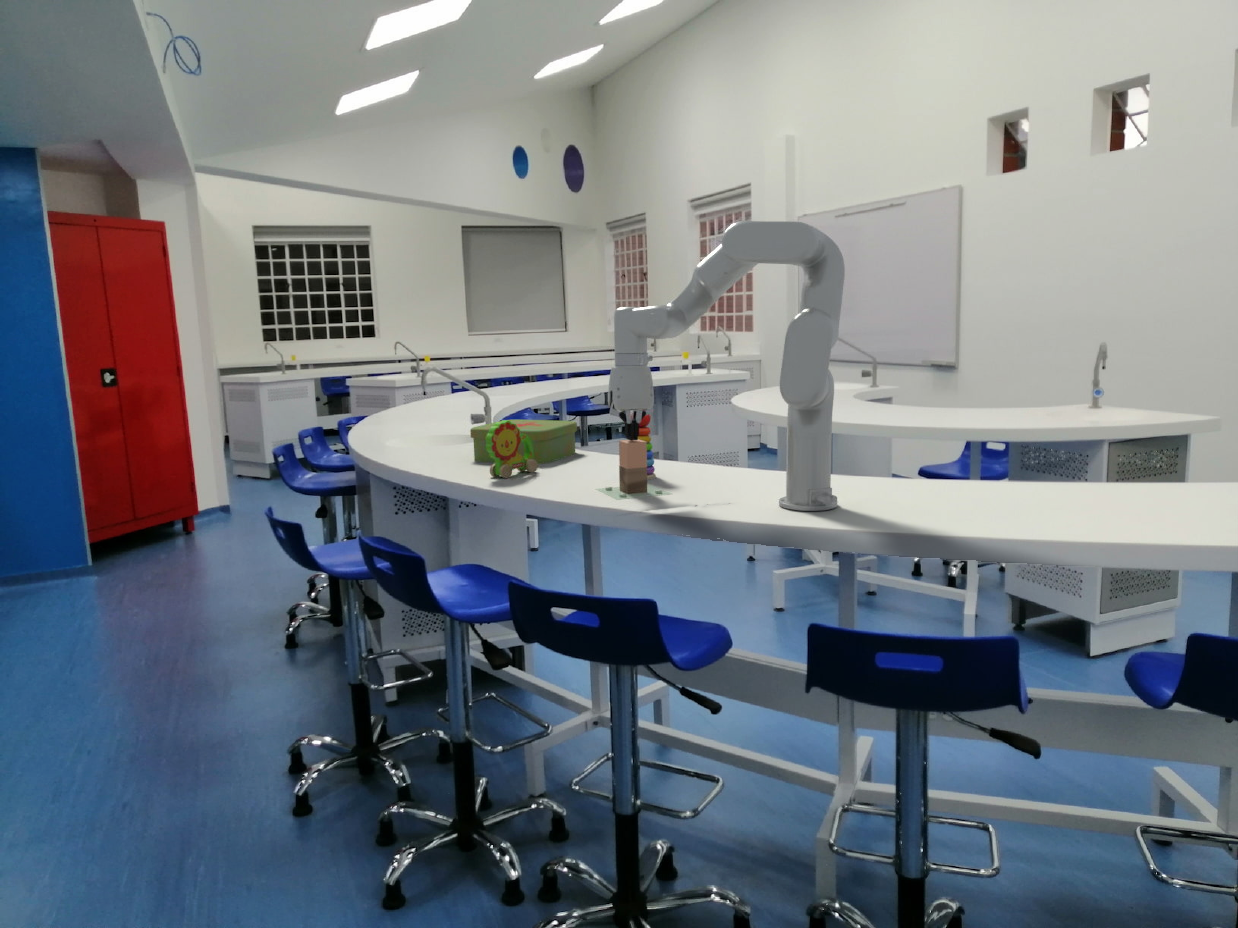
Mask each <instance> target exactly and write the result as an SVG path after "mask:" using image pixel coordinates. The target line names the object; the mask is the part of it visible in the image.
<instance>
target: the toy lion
mask: <svg viewBox="0 0 1238 928" xmlns="http://www.w3.org/2000/svg"><path fill="white" fill-rule="evenodd" d="M507 420H508V419H505V420H504V419H503V420H500V421H501V422H499V421H496V423H495V422H494V423H495V424H494V426H493V427H491V428H490V429H489V433H488V434H487V435H486V450H487V451H488V452H489V456H490V457H491V458H494V459H495V462H494V463H493V464H492V465H490V467H489V473H490V476H491V477H493V478H499V477H500V476H501V478H503V479H509V478H510V477H511V476H512V474H513V471H514V470H517V471H518V472H525V471H526V472H528V473H532V474H533V473H536V472H537V469H538V465H539V464H537V461H536V460H534V459H533V458H534V451H533V444H532V442H531V440H530V438H529V437H528V436H526V435H524V434H521V432H520V429H519V428H517V425H516V424H515V423H511V422H510V421H507ZM521 442H523V444H524V447H525V454H524V457H523V456H522V455H520V454H518V446H519V444H520V443H521Z"/></svg>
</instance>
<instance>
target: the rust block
mask: <svg viewBox="0 0 1238 928" xmlns="http://www.w3.org/2000/svg"><path fill="white" fill-rule="evenodd" d="M618 447H619V448H618V449H619V450H618V452H619V453H618V455H619V457H618V458H619V459H618V461H619V466H621V467H624V468H626V469H632V468H644V467H647V442H646V441H642V440H639V439H638V440H633V441H631V440H628V439H623V440H618Z"/></svg>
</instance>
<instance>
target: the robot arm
mask: <svg viewBox="0 0 1238 928" xmlns="http://www.w3.org/2000/svg"><path fill="white" fill-rule="evenodd" d="M720 242H721V243H720V244H719V245H718V246H717V247H716V248H714V250H712V251H711V252H710V253H708V255H707V256H706V257H704V258H703V259H702V260H701V261H700V262H698V264H697V265H696V266H695V267H694V270H693V273H692V276H691V280H690V281H689V283H688V284H687V286H686V287H684V289H683V290H682V291H681V292H680V293H679V294H678V295H677V296H676V297H674V299H672V300H671V301H670V302H669V303H667V304H662V305H661V304H659V305H658V304H657V305H651V306H645V307H641V306H621V307H618V308H616V309H615V310H614V312H613V313H614V314H613V326H614V327H613V329H614V330H613V331H614V334H613V335H614V367H611V368H610V374H609V381H608V390H607V391H608V394H607V405H608V408H609V415H610V416H613V417H619V418H620V419H621V420H622V423H624V436H625V438H626V440H631V441H633V440H638V436H639V423H640V422H641V420H642V419H643V417H644V416H645V415H648V414H650V415H651V414H654V411H655V409H654V403H655V395H654V394H655V392H654V381H653V375H652V371H651V367H650V366H648V365H649V362H652V361H653V358H654V357H653V355H652V354H651V355H650V354H649V353H648V339H652V340H664V339H673V338H677V337H678V336H680V335H682V334H683V333H684V332H685V331H687V330H688V329H689V328H690V327H691V326H692V325H694V324H695V323H696V322H697V321H699V319H701V318H702V317H703V316H704V315H705V314H706V313H707V312H708V311H709V310H710V309H711V308H712V307H713V306H714V304H715V303H716V302H718V301H719V299H720V298H721V297H722V296H723V295H724V294H725V293H726V292H727V291H728V290H730V288H732V287H733V286H734V285H735V284H736V283H738V281H740V280H741V279H742V278H744V276H745V275H746V274H748V273H749V272H750V271H751V270H753V269H754V268H755V267H757V265H758V264H767V265H768V264H769V265H770V264H772V265H774V264H775V265H791V266H792V265H793V266H797V267H801V268H802V271H803V272H804V274H803V276H804V277H803V278H804V279H803V283H802V288H801V296H800V297H801V298H800V299H801V300H800V304H799V311H798V314H796V315H795V316H794V317H793V318H792V319H791V321H790V322H789V324H788V327H787V329H786V333H785V336H784V337H785V338H784V344H783V346H784V347H783V350H782V351H783V354H782V359H781V360H782V362H781V368H780V376H779V392H780V395H781V397H782V399H783V400H784V402H785V403H786V404H787V405H788V408H787V420H786V421H787V422H786V473H785V475H786V481H785V483H786V484H785V486H786V487H785V488H786V490H785V492H786V493H785V496H783V497H781V498H780V499H778V506H779V507H781V508H784V509H788V510H792V511H793V510H794V511H800V512H801V511H802V512H803V511H804V512H818V511H819V512H820V511H827V510H828V511H829V510H833V509H836V508H837V507H838V496H836V495H834V494H833V487H831V482H832V481H831V480H832V479H831V475H832V474H831V473H832V472H831V471H832V436H833V434H832V432H833V409H834V408H833V407H834V400H835V399H834V396H835V382H834V377H833V374H832V372H831V370H830V369H829V367H830V359H831V353H832V349H833V348H834V347H835V346H836V344H837V342H838V338H839V334H840V333H839V331H840V330H839V328H840V319H841V311H842V305H843V304H842V303H843V294H844V286H845V285H844V284H845V277H846V276H845V275H846V273H845V271H846V266H845V261H844V257H843V253H842V251H841V249H840V248H839V245H837V244H836V242H835V241H834V240H833V239H832V237H830V236H828V235H827V234H826V233H824V232H823V231H821V230H819V229H818V228H817V227H814V226H812V225H810V224H808V223H805V222H802V221H791V220H790V221H783V220H782V221H778V220H777V221H775V220H774V221H769V220H768V221H762V220H761V221H760V220H759V221H757V220H739V221H736V222H734V223H732V224H730V226H728V227H727V228H726V229H725V231H724V232H723V235H722V237H721V241H720ZM631 411H632V412H631ZM632 413H633V415H632V419H631V414H632Z"/></svg>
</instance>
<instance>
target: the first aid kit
mask: <svg viewBox="0 0 1238 928" xmlns="http://www.w3.org/2000/svg"><path fill="white" fill-rule="evenodd" d="M506 420H507V421H510V422H511V423H515V424H516V425H517V428H519V429H520V432H521V434H524V435H526V436H528V437H529V438H530V440H531V442H532V444H533V451H534V458H533V459H534V460H536V461H537V465H539V464H540V463H542V464H547V463H546V462H548V463H550V462H551V463H552V462H554V461H557V460H560V459H563V458H566V457H569V456H572V455H575V454H576V436H575V435H576V434H575V433H576V432H577V431H578V423H577V421H573V420H552V419H551V420H550V419H549V420H548V419H506ZM501 421H502V420H499V421H498V422H501ZM496 422H497V421H496ZM496 422H491V423H486V424H482V425H477V426H473V427H471V428H470V438H471V439H473V452H474V454H473V455H474V456H473V459H474V461H477V462H492V463H495V459H494V458H491V457H490V456H489V452H488V451H487V450H486V435H487V434H488V433H489V429H490V428H491V427H493V426H494V424H495V423H496ZM518 454H520V455H522V456H523V457H524V454H525V447H524V444H523V442H521V443H520V444H519V446H518ZM565 456H566V457H565ZM556 459H557V460H556Z"/></svg>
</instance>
